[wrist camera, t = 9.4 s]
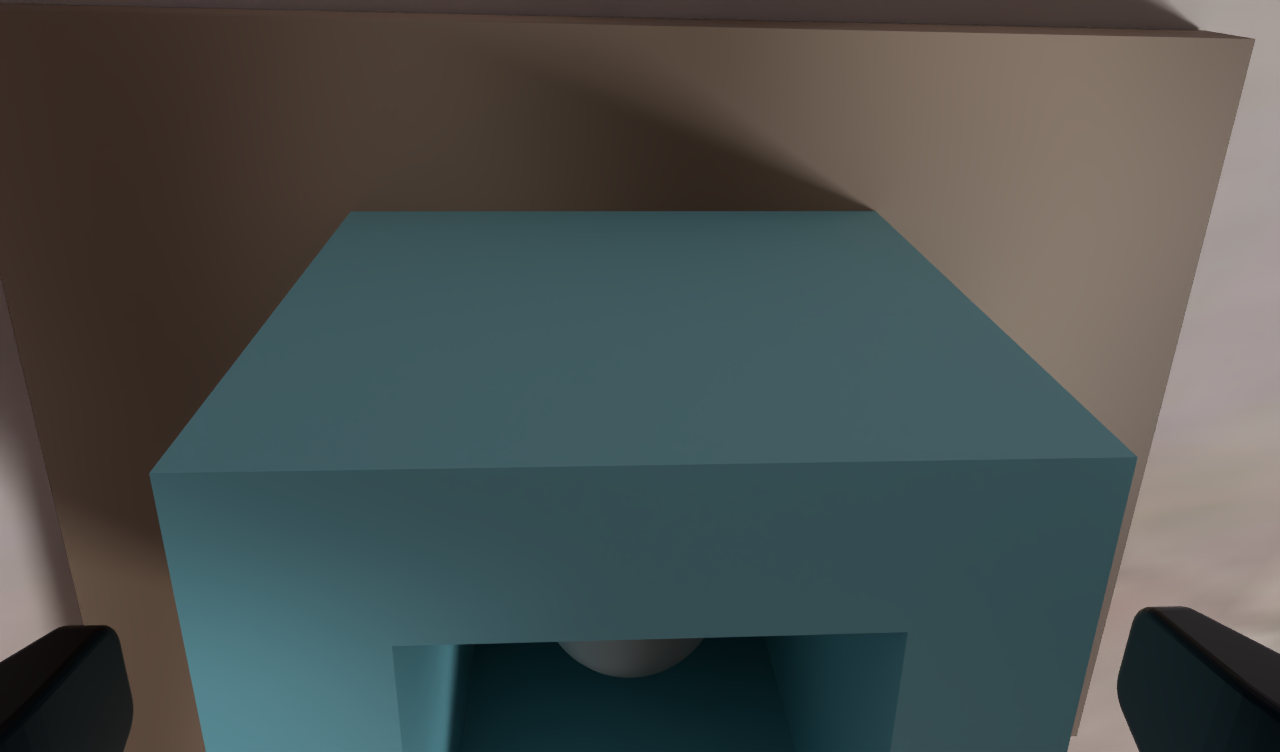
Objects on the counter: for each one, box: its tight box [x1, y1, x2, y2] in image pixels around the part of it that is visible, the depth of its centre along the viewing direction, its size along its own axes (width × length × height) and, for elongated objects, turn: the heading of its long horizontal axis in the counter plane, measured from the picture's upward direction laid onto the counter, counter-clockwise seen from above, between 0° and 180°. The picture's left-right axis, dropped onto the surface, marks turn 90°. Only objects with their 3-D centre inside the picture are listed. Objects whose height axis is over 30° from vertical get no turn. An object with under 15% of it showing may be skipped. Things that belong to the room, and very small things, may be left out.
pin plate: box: [0, 4, 1255, 752], centre depth 12 cm, size 14×10×5 cm
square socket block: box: [149, 211, 1138, 752], centre depth 10 cm, size 6×6×6 cm
